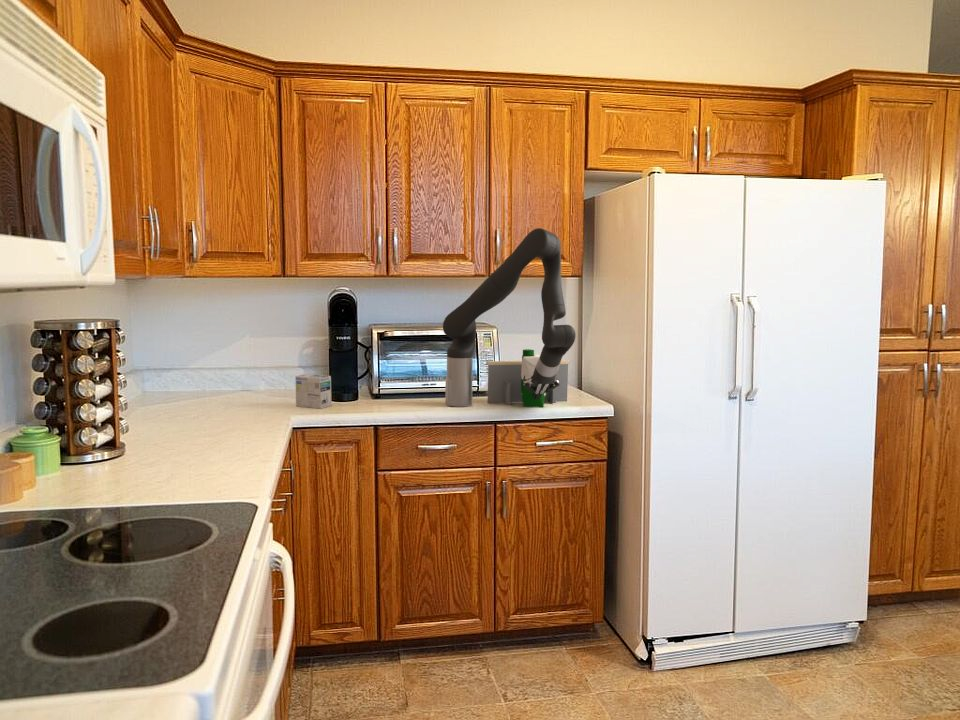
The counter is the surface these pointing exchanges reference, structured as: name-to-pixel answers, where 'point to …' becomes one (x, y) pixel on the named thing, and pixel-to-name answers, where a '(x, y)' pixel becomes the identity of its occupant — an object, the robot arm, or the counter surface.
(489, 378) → the grey backboard
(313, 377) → the light bulb box
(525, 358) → the soya milk
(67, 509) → the counter surface
